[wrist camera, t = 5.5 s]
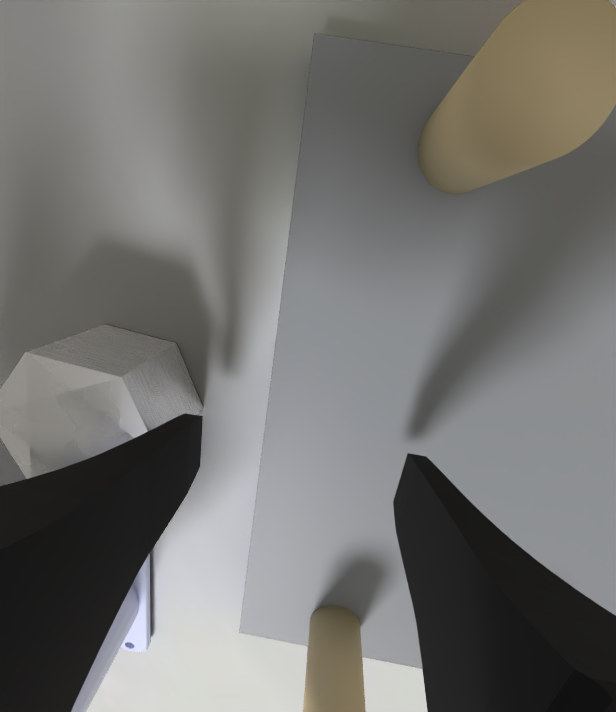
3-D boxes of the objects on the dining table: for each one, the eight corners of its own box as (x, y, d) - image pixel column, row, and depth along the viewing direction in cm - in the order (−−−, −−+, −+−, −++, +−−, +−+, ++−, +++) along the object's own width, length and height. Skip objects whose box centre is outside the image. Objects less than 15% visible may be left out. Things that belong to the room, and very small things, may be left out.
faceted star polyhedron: (68, 422, 15) (-10, 475, 11) (68, 314, 13) (-23, 339, 10) (195, 456, 15) (154, 518, 11) (211, 352, 13) (169, 390, 10)
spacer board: (244, 611, 18) (210, 746, 13) (316, 53, 10) (297, -125, 5) (626, 686, 17) (736, 855, 12) (1035, 159, 9) (1783, 69, 4)
